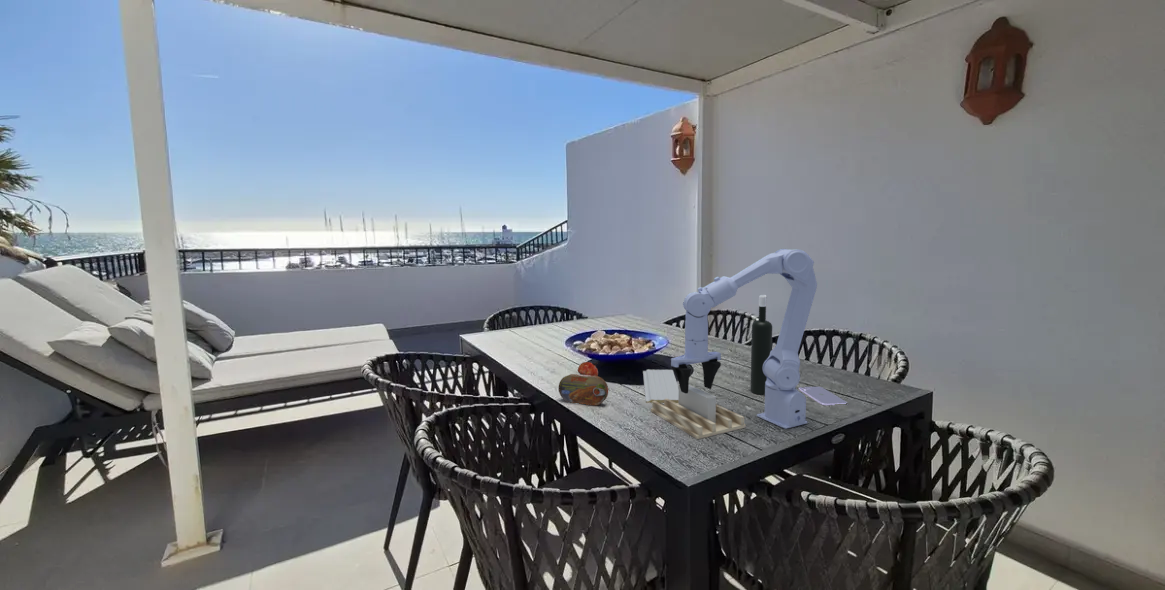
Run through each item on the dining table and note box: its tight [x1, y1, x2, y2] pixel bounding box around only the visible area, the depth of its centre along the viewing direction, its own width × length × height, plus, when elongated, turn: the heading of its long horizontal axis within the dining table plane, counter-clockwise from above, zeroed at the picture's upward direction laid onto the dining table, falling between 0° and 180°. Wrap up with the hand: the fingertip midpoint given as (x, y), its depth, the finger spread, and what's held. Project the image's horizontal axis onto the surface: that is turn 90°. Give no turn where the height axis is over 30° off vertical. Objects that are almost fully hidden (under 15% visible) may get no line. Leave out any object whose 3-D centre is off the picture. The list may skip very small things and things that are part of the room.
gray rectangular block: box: [678, 384, 717, 424], centre depth 118 cm, size 12×2×7 cm, turn 24°
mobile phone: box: [798, 386, 848, 406], centre depth 134 cm, size 8×1×15 cm
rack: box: [650, 399, 747, 440], centre depth 119 cm, size 20×15×3 cm
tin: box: [558, 373, 609, 407], centre depth 132 cm, size 15×3×8 cm, turn 68°
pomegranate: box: [577, 361, 599, 377], centre depth 152 cm, size 7×7×10 cm
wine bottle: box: [749, 294, 773, 396], centre depth 137 cm, size 6×6×30 cm
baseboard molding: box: [640, 365, 679, 404], centre depth 147 cm, size 31×3×12 cm
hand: (696, 389), depth 118 cm, fingers open, 7 cm apart
